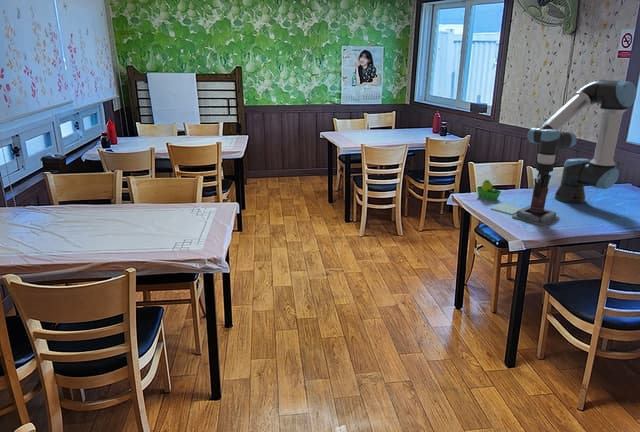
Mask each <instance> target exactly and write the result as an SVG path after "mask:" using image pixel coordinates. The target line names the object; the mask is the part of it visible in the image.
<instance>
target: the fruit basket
mask: <svg viewBox="0 0 640 432" xmlns="http://www.w3.org/2000/svg"><path fill="white" fill-rule="evenodd" d="M493 186H494V185H493V183H492V182H491V181H490V180H489V179H485V180H484V181H483V182H482V186H481V187H480V186H479V187H477V188H476V190H477V196H478V198H481V199H484V200H486V201H490V202H493V201H497V200H498V198H499V197H500V194H501V193H502V190H499V189H496V188H493Z"/></svg>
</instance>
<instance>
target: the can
mask: <svg viewBox="0 0 640 432" xmlns="http://www.w3.org/2000/svg"><path fill="white" fill-rule="evenodd" d="M548 193H549V187H548V188H547V187H545V188H543V189H542V188H541V189H540V197H535V196H534V189H533V191H532V196H531V203H530V206H531V207H530V213H532V214H536V215H540V216H542V215H543V212H544V209H545V206H546V200H547V196H548Z"/></svg>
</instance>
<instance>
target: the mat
mask: <svg viewBox="0 0 640 432" xmlns="http://www.w3.org/2000/svg"><path fill="white" fill-rule="evenodd" d="M520 209H522V207H518V206H517V207H516V206H513V205H509V204H505V203H500V204H497V205H494V206H493V207H490V210H492V211H496V212H498V213H499V212H500V213H503V214H508V215H510V216H513V215H516V214H517V211H518V210H520Z"/></svg>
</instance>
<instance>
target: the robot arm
mask: <svg viewBox="0 0 640 432" xmlns="http://www.w3.org/2000/svg"><path fill="white" fill-rule="evenodd" d="M636 98H637V88H636V86H635V84H634V83H633V82H631V81H627V80H626V81H625V80H613V79H612V80H609V79H607V80H606V79H598V80H594V81H592V82H590V83H588V84H585V85H584V86H582V87H581V88H579V89H578V90H576V91H575V92H574V93H573V95H572V98H570V99H569V101H567V102H566V103H565V104H564V105H563V106H562V107H561V108H560V109H558V110H557V111H556V112H555V113H554V114H552V116H550V117H549V118H548V119H547V120H546V121H545V122H543V124H541V125H540V126H539V127H531V128H530V129H529V130H528V132H527V135H526V136H527V140H528V141H529V142H530V143H532V144H536V145H539V149H538V153H537V160H536V161H537V162H536V165H535V170H536V171H537V172H538V173H537V175H536V177H534V180H533V181H534V187H533V190H534V196H535V197H540V189H541V188H542V189H543V188H545V187H547V188H548V189H549V187H548V186H549V183H550V180H551V177H552V175H551V174H550V173H552V172H554V168H555V167H554V166H555V163H556V156H557V151H558V150H562V149H565V150H566V149H570V148H572V147H574V146H575V145H576V143H577V139H578V138H577V136H576V133H574V132H572V131H569V132H568V131H565V132H564V131H560V130H561V129H562V128H564V126H565V125H567V123H568V122H570V121H571V120H572V119H573V118H574V117H575V116H576V115H578V114H579V113H581V111H582V110H584V109H585V108H589V107H590V106H591V105H594V104H598V105H600V107H599V110H601V111H602V114H601V120H600V124H599V130H598V135H597V139H596V145H595V150H594V154H593V155H594V156H593V158H592V159H588V158H580V157H579V158H569V159H566V160H565V162H564V165H563V169H562V174H561V180H560V185H559V187H558V188H557V190H556V192H555V194H554V198H555V200H556V201H560V202H564V203H570V204H583V203H585V202H586V192H585V186H589V187H592V188H596V189H600V190H608V189H610V188H611V187H613V186H614V185H615V183H616V182H617V180H618V178H619V176H620V172H619V169H618V168H616V162H615V161H614V158H615V157H614V156H615V152H616V146H617V142H618V137H619V134H620V128H621V124H622V119H623V115H624V113H625V112H626V111H628V109H629V107H631V106H632V105H633V104H634V102H635V101H636Z"/></svg>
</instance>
